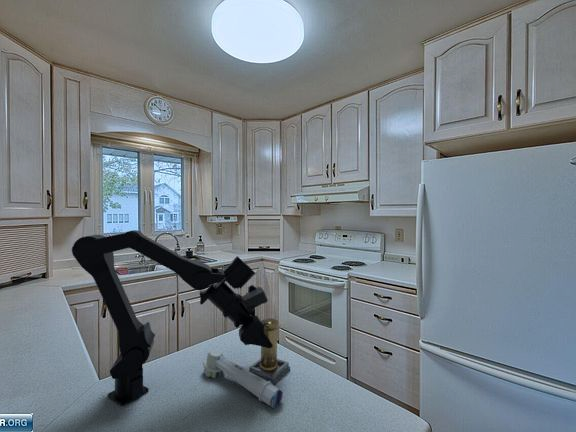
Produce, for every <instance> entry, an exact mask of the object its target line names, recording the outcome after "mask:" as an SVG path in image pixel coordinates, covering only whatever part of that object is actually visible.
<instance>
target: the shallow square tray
mask: <svg viewBox="0 0 576 432" xmlns="http://www.w3.org/2000/svg"><path fill="white" fill-rule="evenodd" d="M260 362H261V358H259V359H258V360H257V361H255V362H254V363H253V364H251V365H250V366H249V367H248V371H249V372H251V373H253V374H255V375H256V376H258V377H260V378H262V379H263V380H265V381H267V382H268V381H270V382H271V383H272V384H273V386H275V385H276V383H278V382H279V381H280V380H281V379H282V378H283V377H285V375H287V373H289V372H290V371H291V366H290V363H289V362H288V361H285V360H282V359H280V358H277V370H276V371H275V372H274V373H272V374H271V373H269V372H266V371H263V370H261V369H260Z"/></svg>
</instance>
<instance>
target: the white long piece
mask: <svg viewBox="0 0 576 432" xmlns="http://www.w3.org/2000/svg"><path fill="white" fill-rule="evenodd" d="M206 357H207V358H204V360H203V362H202V363H203V364H202V365H203V372H204V375H205V376H206V377H207V378H210V377H211V378H213V379H215V378H219V377H221V376H223V374H226V375H227V376H228V377H230V378H231V379H232V380H234V381H235V382H237V383H238V384H239V385H241V386H242V387H243V388H245V389H246V390H248V391H249V392H250V393H251V394H253V395H255V397H257V398H258V401H260V402H261V403H265V404H266V405H267V406H269V407H271V408H272V409H275V408H276V407H278V406H279V405H280V404H281V402H282V400H283V395H284V392H283V390H281V389H279V388H278V387H276V386H275V385H273V384H272V383H271V382H270V381H268V382H267V381H265V380H263V379H262V378H260V377H258V376H256V375H255V374H253V373H251V372H249V369H248V370H247V369H246V368H244V367H242V366H240V365H239V364H237V363H235V362H233V361H232V360H230V359H228V358H227V357H224V355H223V353H222V351H221V350H220V349H216V348H213V349H210V350H209V351H208V353H207V356H206Z"/></svg>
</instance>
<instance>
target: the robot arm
mask: <svg viewBox="0 0 576 432" xmlns="http://www.w3.org/2000/svg"><path fill="white" fill-rule="evenodd" d="M124 249H125V250H127V249H132V250H134V251H136V252H137V253H138V254H141V255H143V256H145V257H147V258H148V259H150V260H151V261H154V262H155V263H157V264H159V265H161V266H163V267H165V268H167V269H168V270H171V271H172V272H174V273H175V274H176V275H177V276H178V277H179V278H180V279H181V280H182V281H184V282H185V283H186V284H188V286H190V287H191V288H192V289H194V290H195V291H199V299H200V300H199V304H200V305H203V304H204V303H206V302H207V300H208V301H209V302H211V303H212V304H213V306H215V307H216V308H217V309H218V310H219V311H220V312H222V316H223V317H225V319H227V318H228V319H229V320H230V322H232V323H233V325H234V327H235V328H236V329H238V328H239V327H240V326H241V327H240V328H239V329H238V337H239V341H240V342H242V343H243V344H244V346H250V345H252V346H258V347H261V346H262V347H266V348H271V347H272V346H273V344H272V343H271V341H270V340H269V338H268V337H267V336H266V334H265V333H264V327H265V326H264V323H263V322H262V320H261V318H260V317H259V316H258V315H256V308H257V307H260V306H261V305H263V304H264V305H265V304H266V303H268V301H269V299H268V297H267V295H266V293H265V291H264V289H263V287H260V286H255V285H253V284H251V285H249V286H248V287H247V292H246V293H245V294H244V295H241V294H240V293H236V292H235V291H234V290H235V289H237V290H238V289H240V290H241V289H242V288H243V287H244V286H245V285H246V284H247V283H248V282H249V281H250V280H251V279H252V278H253V277H254V276H255V275H256V272H255V271H254V270H253V269H252V268H251V266H249V264H248V263H246V262H245V261H244V260H243V259H241V258H240V257H239V256H236V257H234V258H233V259H232V261H231V262H230V263H229V264H228V265H227V266H226V267H225V268H224V269H223V268H215V267H211V266H209V264H207V263H204V262H201V261H199V260H195V259H192V258H188V257H184V256H183V255H180V254H178V253H177V252H176V251H173V250H171V249H170V248H168V247H166V245H165V246H164V245H163V244H161V243H159V242H157V241H156V240H154V239H152V238H151V237H148V236H146V235H145V234H143V233H142V232H141V231H140V230H137V229H135V230H133V229H132V230H128V231H126V232H124V233H118V234H115V235H110V236H105V235H102V234H93V235H92V234H91V235H87V236H82V237H80V238H78V239H77V240H75V242H73V245H72V247H71V253H72V256H73V257H74V259H75V260H76V261H77V263H78V264H79V266H80V267H81V268H82V269H83V270H85V272H87V273H88V274H89V275H90V276H91V277H92V278H93V281H94V282H95V284H96V286H97V290H98V291H99V293H100V295H101V298H102V300H103V302H104V305H105V307H106V309H107V310H108V313H109V315H110V317H111V319H112V321H113V324H114V326H115V328H116V330H117V332H118V349H119V355H118V357H117V358H116V360H115V361H114V362H113V365H112V366H111V368H110V370H109V373H110V376H111V379H113V380H114V390H112V391H111V392H108V393H107V398H109V399H111V400H112V401H113V402H116V403H117V404H119V405H120V406H125V405H126V404H128V403H130V402H132V401H135V399H137V398H139V397H140V396H143V395H145V394H146V393H148V392H149V391H150V390H149V389H150V388H149V387H147V386H145V385H144V367H143V365H144V364H145V363H146V362H147V361H148V359H149V357H150V354H151V353H152V349H153V347H154V343H155V337H156V333H154V331H152V327H151V323H150V322H149V321H147V322H145V324H143V323H142V322H141V321H140V320H139V319H138V318H137V316H136V313H135V311H134V309H133V306H132V304H131V302H130V300H129V298H128V295H127V293H126V290H125V289H124V287H123V285H122V282H121V280H120V278H119V275H118V273H117V271H116V269H115V258H114V257H115V256H114V252H117V251H118V252H119V251H122V250H124ZM227 283H228V284H229V285H228V284H227ZM231 287H232V288H233V289H234V290H233V289H232V288H231Z"/></svg>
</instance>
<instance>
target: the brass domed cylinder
mask: <svg viewBox="0 0 576 432" xmlns="http://www.w3.org/2000/svg"><path fill="white" fill-rule="evenodd" d="M261 321H262V322H263V323H264V326H265V327H264V333H265V334H266V336H267V337H268V338H269V340H270V341H271V343H272V344H273V346H272V347H271V348H266V347H262V346H260V359H261V362H260V369H261V370H263V371H266V372H269V373H271V374H272V373H274V372H275V371H276V370H277V359H278V329H279V320H277V319H275V318H264V319H262V320H261Z"/></svg>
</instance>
